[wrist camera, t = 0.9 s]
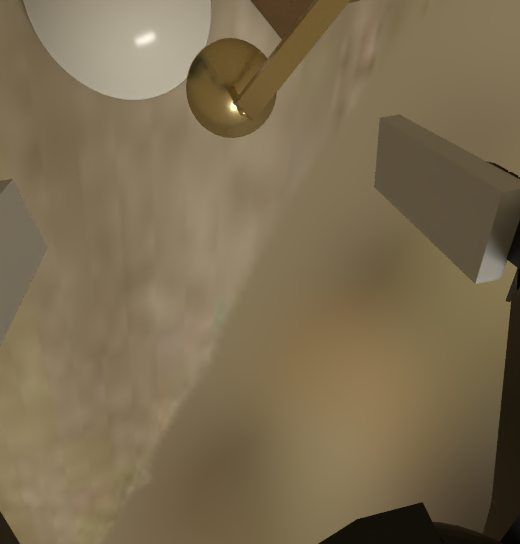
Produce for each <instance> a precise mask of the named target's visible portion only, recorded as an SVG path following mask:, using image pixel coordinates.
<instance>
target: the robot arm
mask: <svg viewBox="0 0 520 544" xmlns="http://www.w3.org/2000/svg"><path fill="white" fill-rule="evenodd" d="M374 187H375V188H376V189H377V190H378V191H379V192H380V193H381V194H382V195H383V196H384V197H385V198H386V199H387V200H388V201H389V202H390V203H392V204H393V205H394V206H395V207H396V208H397V209H398V210H399V211H400V212H401V213H402V214H403V215H404V216H405V217H406V218H407V219H409V221H410V222H411V223H412V224H413V225H415V227H416V228H418V229H419V230H420V231H421V232H422V233H423V234H424V235H425V236H426V237H427V238H428V239H429V240H430V241H431V242H432V243H433V244H434V245H435V246H436V247H438V249H440V251H442V252H443V253H444V254H445V255H446V256H447V257H448V258H449V259H450V260H451V261H452V262H453V263H454V264H455V265H456V266H457V267H458V268H459V269H460V270H461V271H462V272H463V273H464V274H465V275H466V276H467V277H469V278H470V279H471V280H472V281H473V282H474V283H475V284H478V283H482V282H487V281H492V280H496V279H501V277H502V274H503V271H504V268H505V265H506V263H507V260H509V261H510V262H511V263H512V264H514V265H515V266H516V267H517V268H518V269H517V272H516V274H515V277H514V279H513V282H512V285H511V288H510V290H509V293H508V296H507V298H506V301H508V302H510V301H511V309H510V319H509V329H508V340H507V350H506V360H505V370H504V380H503V390H502V400H501V412H500V420H499V430H498V442H497V452H496V461H495V471H494V481H493V491H492V500H491V505H490V510H489V513H488V517H487V520H486V524H485V527H484V531H483V534H481V533H479V532H477V531H473V530H470V529H467V528H464V527H461V526H457V525H452V524H446V523H441V522H432V520H431V518H430V516H429V515H428V512H427V510H426V508H425V506H424V504H423V503H418V504H414V505H410V506H407V507H403V508H399V509H395V510H391V511H387V512H383V513H379V514H376V515H372V516H368V517H364V518H360V519H357V520H355V521H354V522H352V523H350V524H349V525H347V526H346V527H344V528H343V529H341V530H339V531H338V532H337V533H335V534H333V535H332V536H330V537H328V538H327V539H325V540H324V541H322V542H320V543H319V544H520V177H519V178H518V175H516V174H514V173H512V172H508V170H506V169H505V168H503V167H501V166H499V165H497V164H495V163H491V162H487V161H484V160H482V159H481V158H479V157H477V156H475V155H473V154H471V153H470V152H468V151H466V150H464V149H462V148H460V147H458V146H457V145H455V144H453V143H451V142H449V141H447V140H446V139H444V138H442V137H440V136H438V135H436V134H434V133H433V132H430V131H429V130H427V129H425V128H423V127H421V126H420V125H418V124H416V123H414V122H412V121H410V120H408V119H406V118H405V117H403V116H401V115H394V116H389V117H382V118H380V122H379V135H378V147H377V160H376V172H375V185H374ZM47 247H48V246H47V244H46V242H45V240H44V238H43V236H42V234H41V232H40V230H39V229H38V227H37V225H36V223H35V221H34V219H33V217H32V215H31V213H30V211H29V209H28V207H27V205H26V204H25V202H24V200H23V198H22V196H21V194H20V192H19V190H18V188H17V186H16V184H15V182H14V180H13V179H10V180H4V181H0V345H1V343H2V341H3V339H4V337H5V335H6V333H7V331H8V329H9V327H10V324H11V322H12V320H13V318H14V316H15V314H16V312H17V310H18V308H19V306H20V304H21V302H22V299H23V297H24V295H25V293H26V291H27V289H28V287H29V285H30V283H31V281H32V279H33V277H34V274H35V272H36V270H37V268H38V266H39V264H40V262H41V260H42V258H43V256H44V254H45V252H46V249H47ZM0 544H20V543H19V541H18V540H17V538H16V536H15V535H14V533H13V532H12V530H11V528H10V527H9V525H8V523H7V522H6V520H5V518H4V517H3V515H2V514H1V512H0Z"/></svg>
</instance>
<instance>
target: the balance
mask: <svg viewBox="0 0 520 544" xmlns="http://www.w3.org/2000/svg"><path fill="white" fill-rule="evenodd" d="M251 1H252V3H253V4H254V5H255V6H256V8H257V9H258V10H259V11H260V13H261V14H262V15H263V16H264V18H265V19H266V20H267V21H268V23H269V24H270V25H271V26H272V28H273V29H274V30H275V31H276V33H277V34H278V35H279V36H280V38H281V39H282V41H281V42H280V43H279V45H278V46H277V47H276V48H275V50H274V51H273V52H272V53H271V55H270V56H269V57H268V59H267V58H266V56H265V55H264V54H263V53H262V52H261V51H260V50H259V49H258V48H256V47H255V46H254V45H252V44H250V43H248V42H246V41H243V40H240V39H236V38H224V39H220V40H216V41H214V42H211V43H210V44H208V45H206V46H205V47H204V48H203V49H201V51H200V52H199V53H198V54H197V55H196V56H195V58H194V59H193V61H192V63H191V65H190V68H189V71H188V75H187V81H186V92H187V99H188V103H189V106H190V108H191V111H192V113H193V114H194V116H195V118H196V119H197V120H198V122H199V123H200V124H201V125H202V126H203V127H205V128H206V129H207V130H209V131H210V132H212V133H214V134H216V135H219V136H222V137H228V138H235V137H241V136H245V135H248V134H250V133H252V132H254V131H255V130H257V129H258V128H259V127H260V126H262V125H263V124H264V122H265V121H266V120H267V119H268V117H269V115H270V114H271V112H272V110H273V107H274V104H275V100H276V93H277V91H278V90H279V88H280V87H281V86H282V85H283V83H284V82H285V81H286V80H287V78H288V77H289V76H290V75H291V74H292V72H293V71H294V70H295V69H296V67H297V66H298V65H299V64H300V62H301V61H302V60H303V59H304V57H305V56H306V55H307V54H308V52H309V51H310V50H311V49H312V47H313V46H314V45H315V44H316V42H317V41H318V40H319V39H320V37H321V36H322V35H323V34H324V32H325V31H326V30H327V29H328V27H329V26H330V25H331V24H332V22H333V21H334V20H335V19H336V17H337V16H338V15H339V14H340V12H341V11H342V10H343V9H344V7H345V6H346V5H347V4H348V2H349V3H351V2H357V1H360V0H251Z"/></svg>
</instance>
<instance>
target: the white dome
mask: <svg viewBox="0 0 520 544" xmlns="http://www.w3.org/2000/svg"><path fill="white" fill-rule="evenodd" d="M23 2H24V5H25V8H26V11H27V14H28V17H29V19H30V21H31V24H32V26H33V28H34V30H35V32H36V34H37V35H38V37H39V39H40V40H41V42H42V44H43V45H44V46H45V48H46V49H47V51H48V52H49V53H50V55H51V56H52V57H53V58H54V59H55V60H56V61H57V63H58V64H59V65H60V66H61V67H62V68H63V69H64V70H66V71H67V72H68V73H69V74H70V75H71V76H73V77H74V78H75V79H77V80H78V81H79V82H81V83H82V84H84V85H86V86H87V87H89V88H91V89H93V90H95V91H97V92H100V93H102V94H105V95H108V96H111V97H115V98H120V99H129V100H139V99H148V98H152V97H156V96H159V95H161V94H164V93H166V92H168V91H170V90H172V89H173V88H175V87H176V86H178V85H179V84H180V83H181V82H183V81H184V80H185V79H186V78H187V75H188V71H189V68H190V65H191V63H192V61H193V59H194V58H195V56H196V55H197V54H198V53H199V52H200V51H201V49H203V48H204V47H205V46H206V43H207V39H208V35H209V30H210V22H211V0H23Z"/></svg>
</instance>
